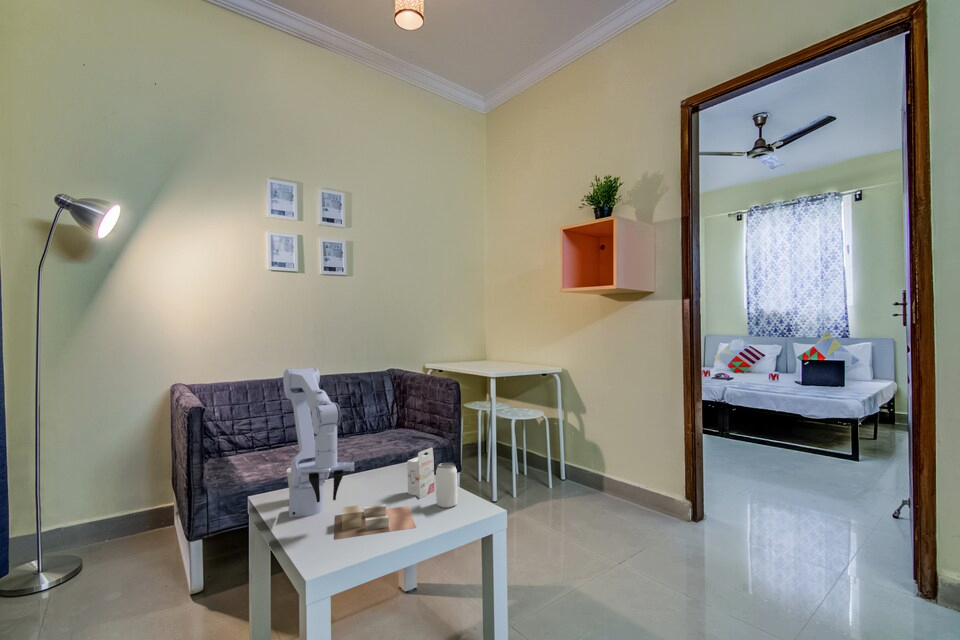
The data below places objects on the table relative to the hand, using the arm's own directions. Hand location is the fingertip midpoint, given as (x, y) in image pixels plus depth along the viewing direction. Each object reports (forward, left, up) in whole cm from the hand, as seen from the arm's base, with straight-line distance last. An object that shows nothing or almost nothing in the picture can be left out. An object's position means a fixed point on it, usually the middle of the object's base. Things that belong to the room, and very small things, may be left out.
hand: (326, 500), depth 120 cm
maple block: (+7, 0, -7) cm, 10 cm away
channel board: (+13, 0, -8) cm, 15 cm away
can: (+35, +8, -9) cm, 37 cm away
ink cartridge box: (+29, +20, -9) cm, 36 cm away
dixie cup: (-9, +28, -9) cm, 31 cm away
